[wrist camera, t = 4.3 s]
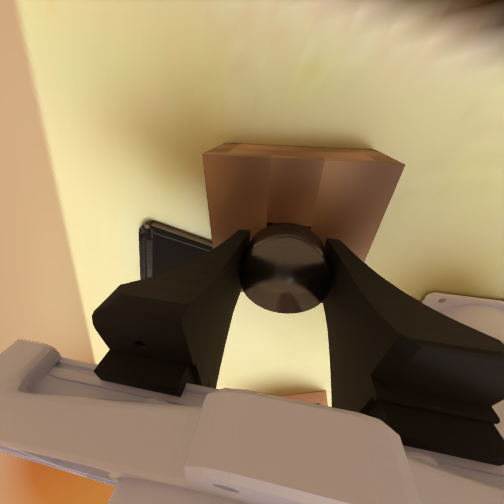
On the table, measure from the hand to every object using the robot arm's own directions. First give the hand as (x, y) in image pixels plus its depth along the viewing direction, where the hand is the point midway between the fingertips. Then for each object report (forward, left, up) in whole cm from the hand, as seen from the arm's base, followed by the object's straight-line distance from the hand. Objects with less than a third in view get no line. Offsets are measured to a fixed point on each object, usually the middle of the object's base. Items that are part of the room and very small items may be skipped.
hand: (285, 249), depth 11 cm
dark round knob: (0, 0, -5) cm, 5 cm away
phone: (+10, +10, -5) cm, 15 cm away
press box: (0, 0, -5) cm, 5 cm away
